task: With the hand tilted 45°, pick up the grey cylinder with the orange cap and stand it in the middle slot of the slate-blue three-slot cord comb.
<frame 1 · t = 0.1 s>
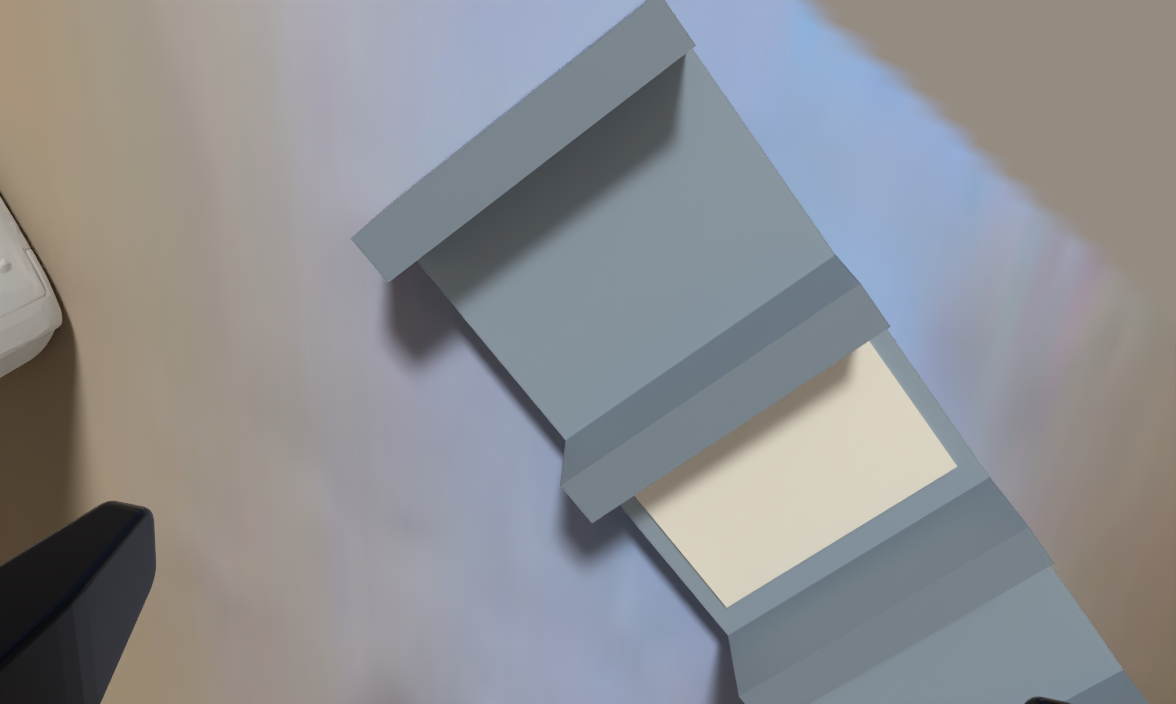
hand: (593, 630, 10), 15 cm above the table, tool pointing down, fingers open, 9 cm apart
cord comb: (783, 455, 26), on the table
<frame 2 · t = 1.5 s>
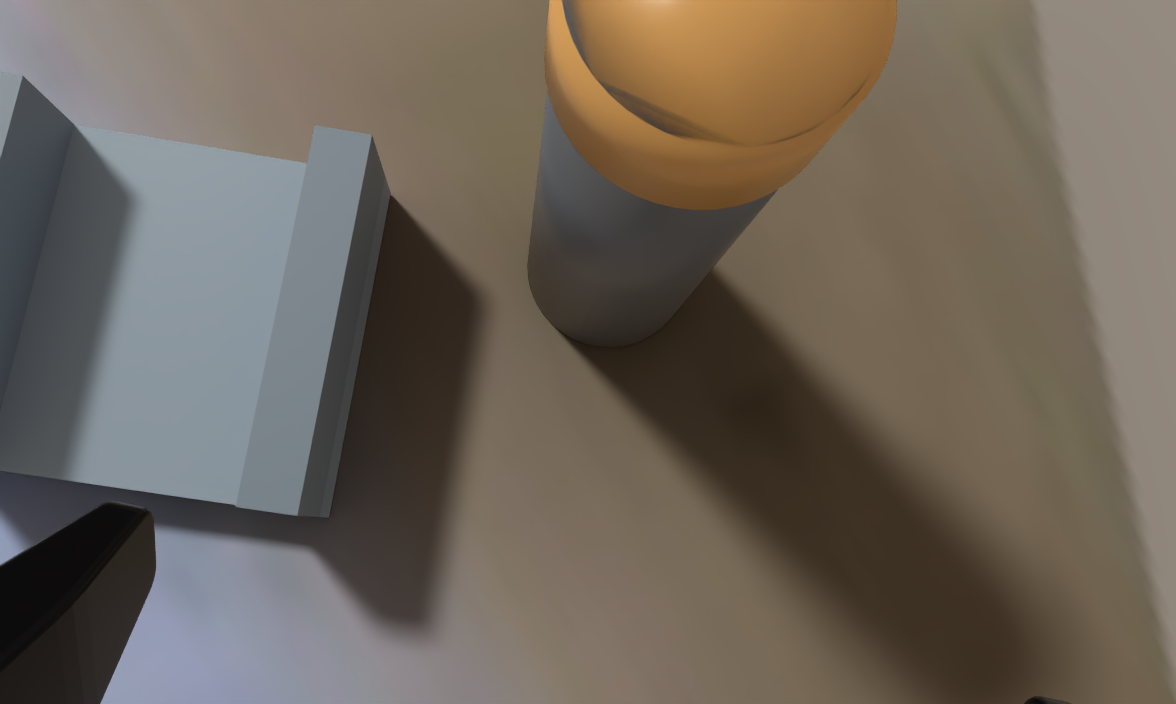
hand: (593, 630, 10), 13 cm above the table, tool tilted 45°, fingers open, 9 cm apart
grey cylinder: (607, 268, 25), on the table
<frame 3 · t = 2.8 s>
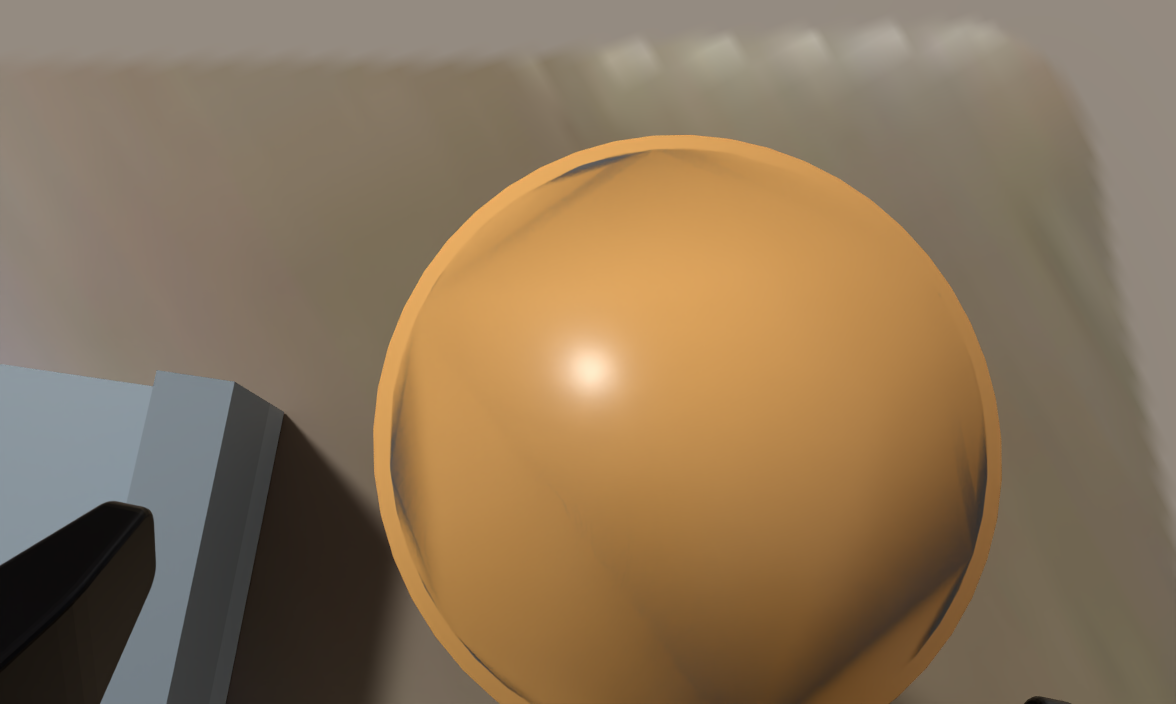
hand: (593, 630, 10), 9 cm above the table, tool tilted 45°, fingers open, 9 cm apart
grey cylinder: (562, 504, 19), on the table
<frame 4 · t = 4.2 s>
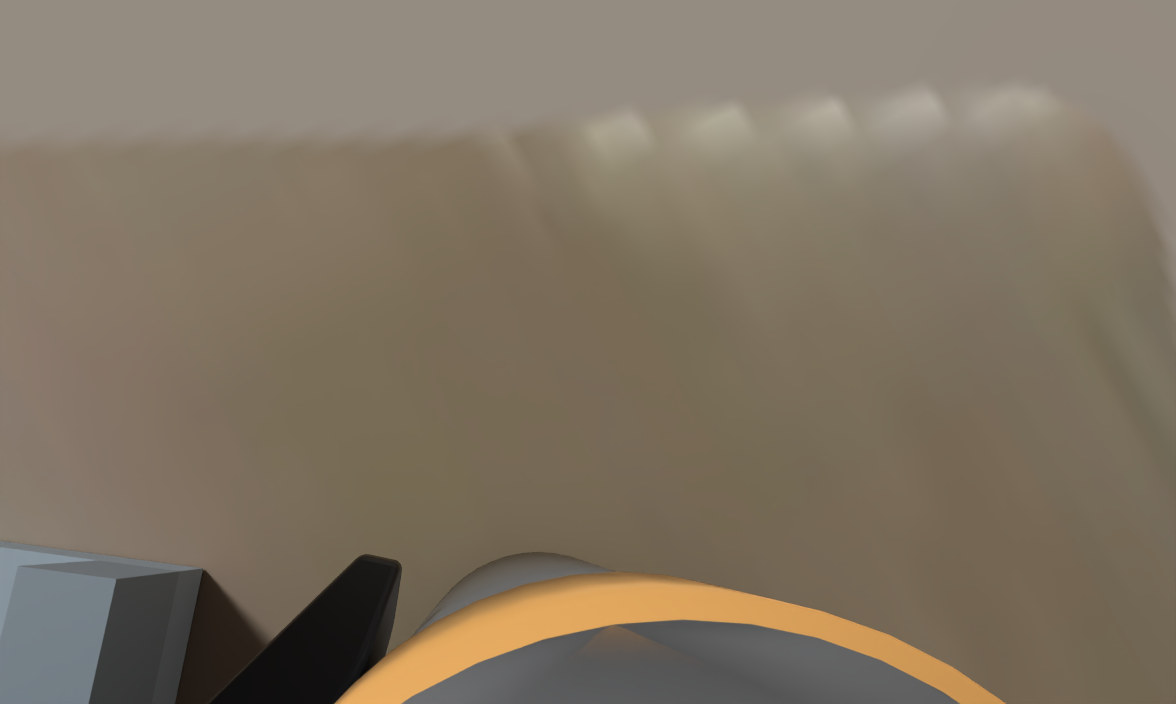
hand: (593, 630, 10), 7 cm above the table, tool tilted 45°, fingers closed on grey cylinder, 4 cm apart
grey cylinder: (536, 676, 16), on the table, touching gripper
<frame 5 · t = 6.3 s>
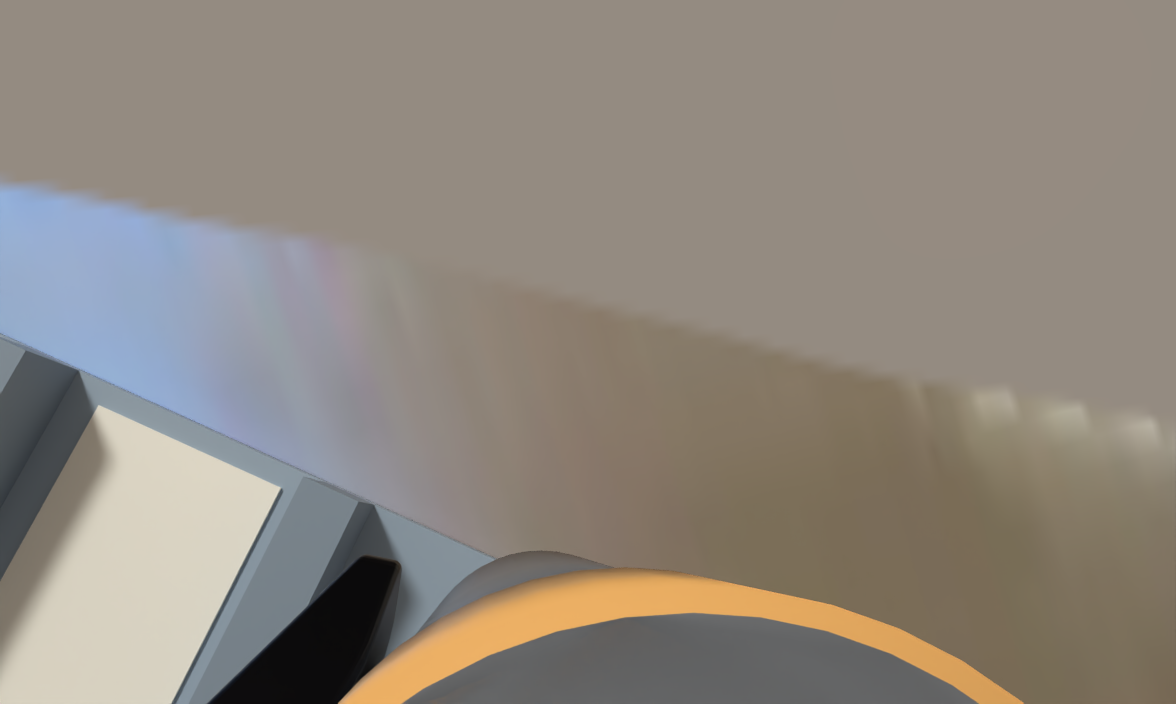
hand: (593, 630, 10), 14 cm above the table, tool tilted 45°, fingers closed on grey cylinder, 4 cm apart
grey cylinder: (539, 675, 16), point 7 cm above the table, touching gripper
cord comb: (132, 592, 22), on the table
when the fingers open (9 cm above the table, at t = 8.3 s): grey cylinder drops 1 cm, resting on cord comb.
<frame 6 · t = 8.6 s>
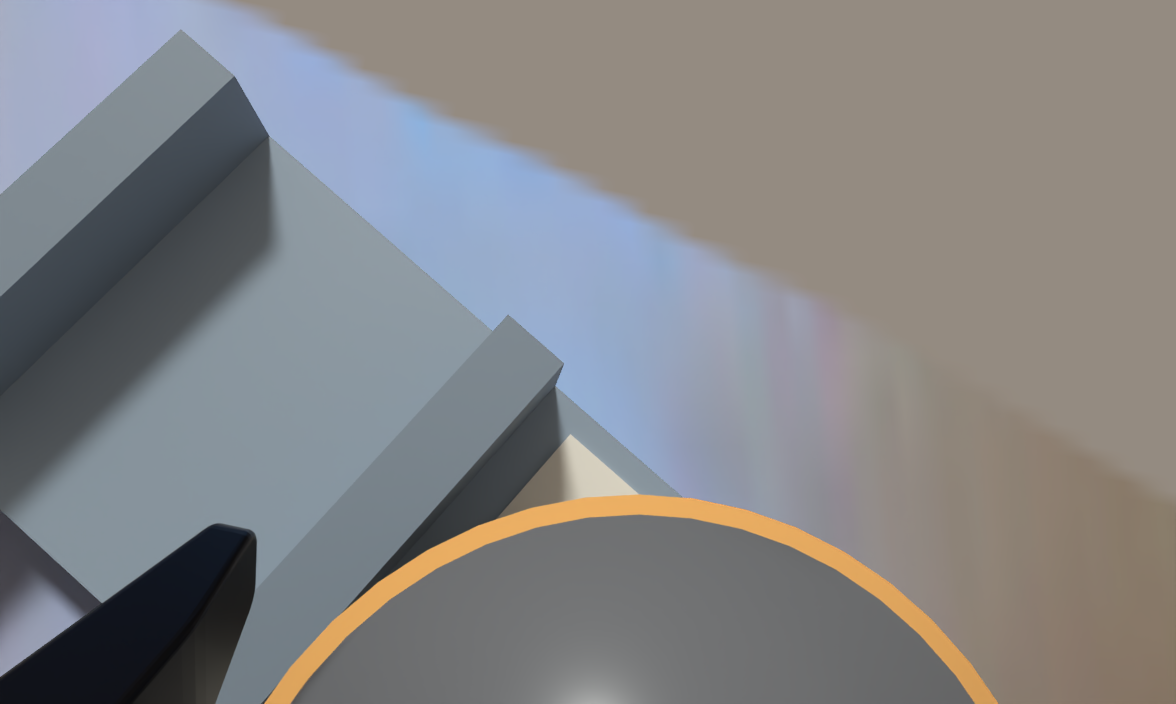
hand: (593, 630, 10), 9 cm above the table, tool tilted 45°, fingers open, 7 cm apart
grey cylinder: (535, 667, 17), point 1 cm above the table, touching cord comb
cord comb: (531, 657, 19), on the table
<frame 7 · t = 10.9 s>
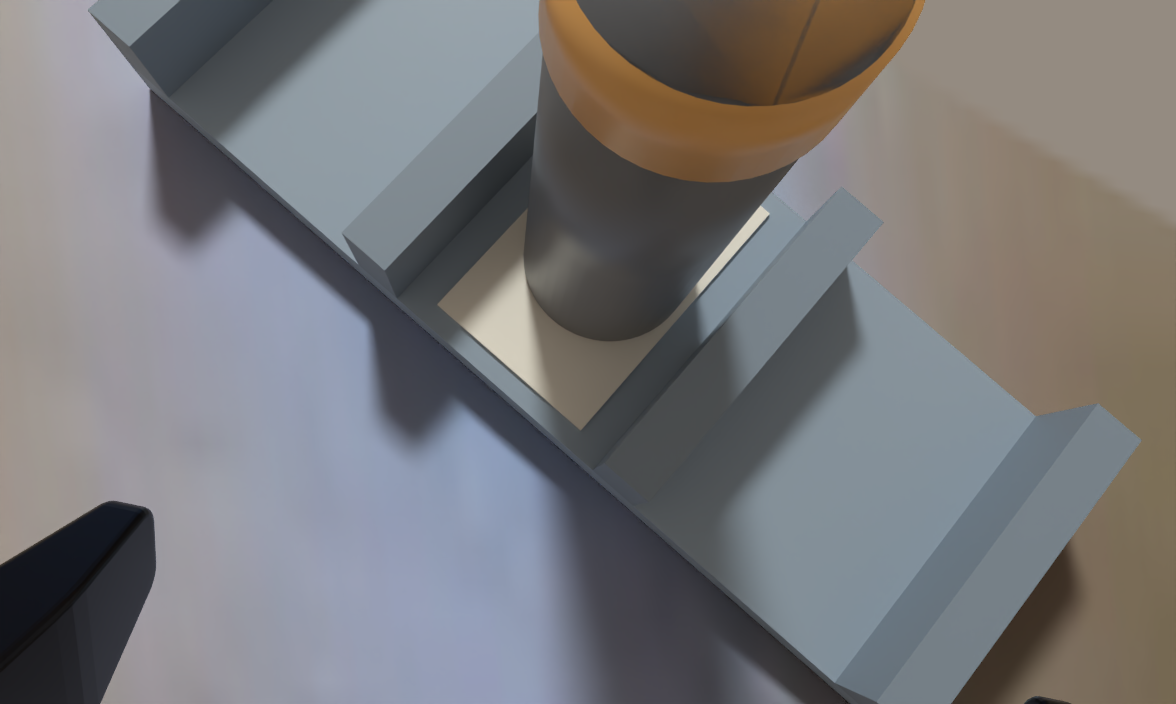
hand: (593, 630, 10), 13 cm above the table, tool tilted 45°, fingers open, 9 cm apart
grey cylinder: (608, 258, 23), point 1 cm above the table, touching cord comb
cord comb: (601, 271, 25), on the table
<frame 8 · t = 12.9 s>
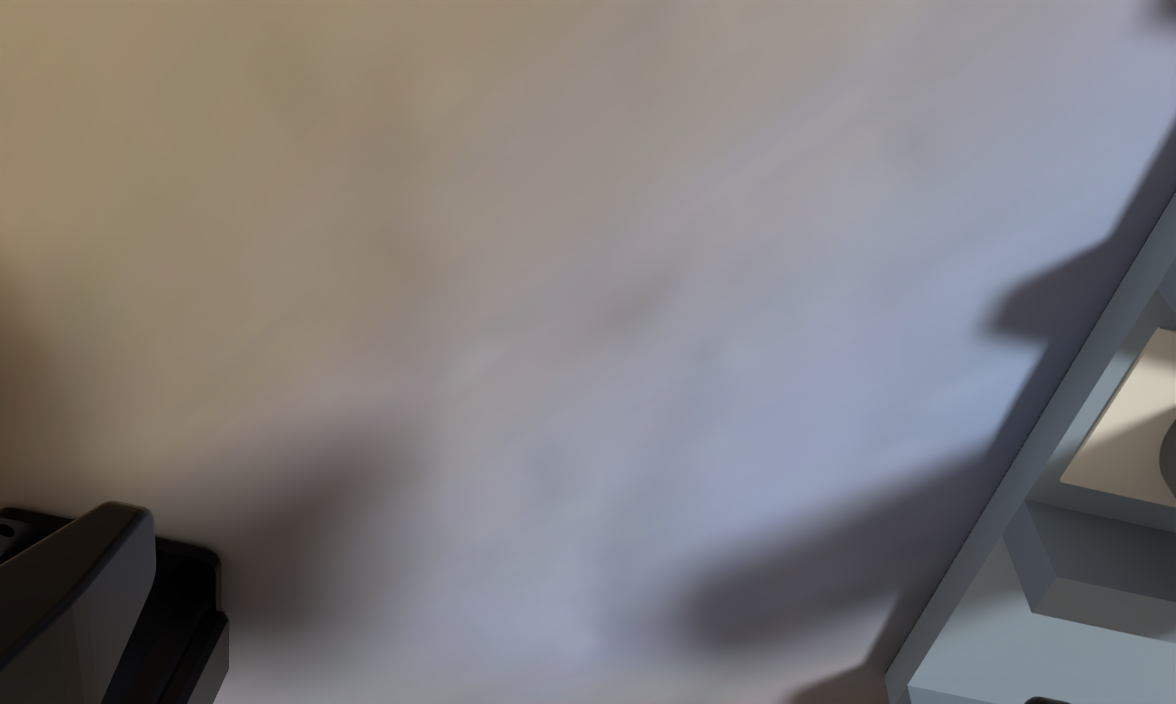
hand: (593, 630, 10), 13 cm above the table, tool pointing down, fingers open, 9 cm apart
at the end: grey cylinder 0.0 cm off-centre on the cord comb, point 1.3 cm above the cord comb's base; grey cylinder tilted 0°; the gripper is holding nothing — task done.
